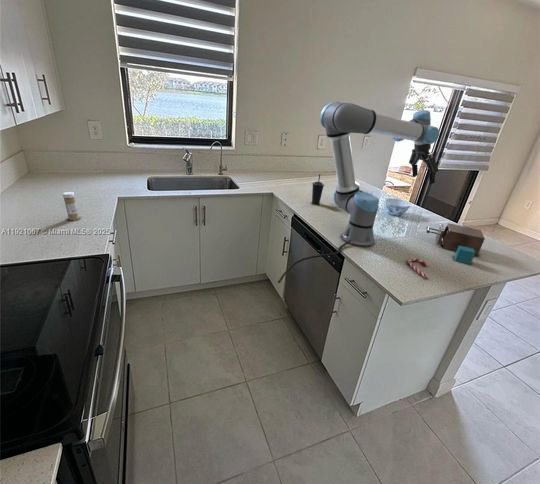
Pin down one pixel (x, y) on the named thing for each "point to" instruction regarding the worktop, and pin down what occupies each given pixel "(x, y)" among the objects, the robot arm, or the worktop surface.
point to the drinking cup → (317, 192)
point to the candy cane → (415, 267)
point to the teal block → (464, 254)
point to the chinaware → (396, 206)
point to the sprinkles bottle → (70, 205)
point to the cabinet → (463, 238)
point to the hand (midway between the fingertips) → (423, 179)
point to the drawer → (440, 234)
